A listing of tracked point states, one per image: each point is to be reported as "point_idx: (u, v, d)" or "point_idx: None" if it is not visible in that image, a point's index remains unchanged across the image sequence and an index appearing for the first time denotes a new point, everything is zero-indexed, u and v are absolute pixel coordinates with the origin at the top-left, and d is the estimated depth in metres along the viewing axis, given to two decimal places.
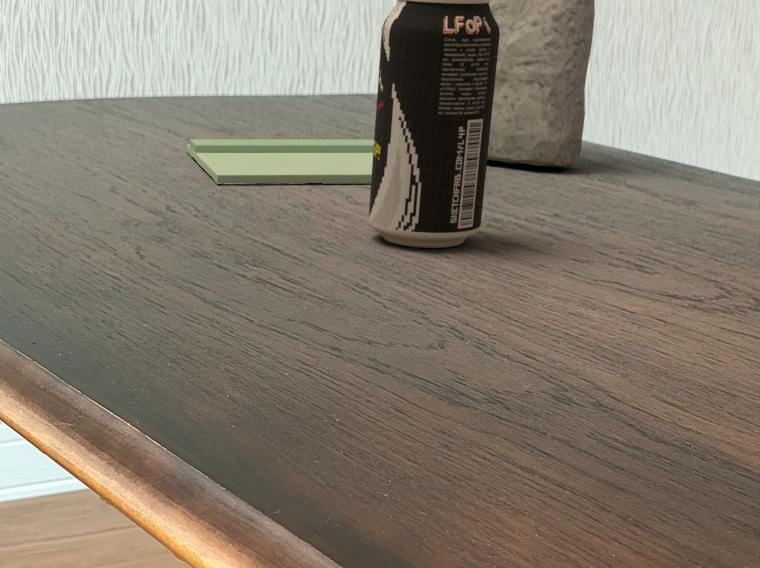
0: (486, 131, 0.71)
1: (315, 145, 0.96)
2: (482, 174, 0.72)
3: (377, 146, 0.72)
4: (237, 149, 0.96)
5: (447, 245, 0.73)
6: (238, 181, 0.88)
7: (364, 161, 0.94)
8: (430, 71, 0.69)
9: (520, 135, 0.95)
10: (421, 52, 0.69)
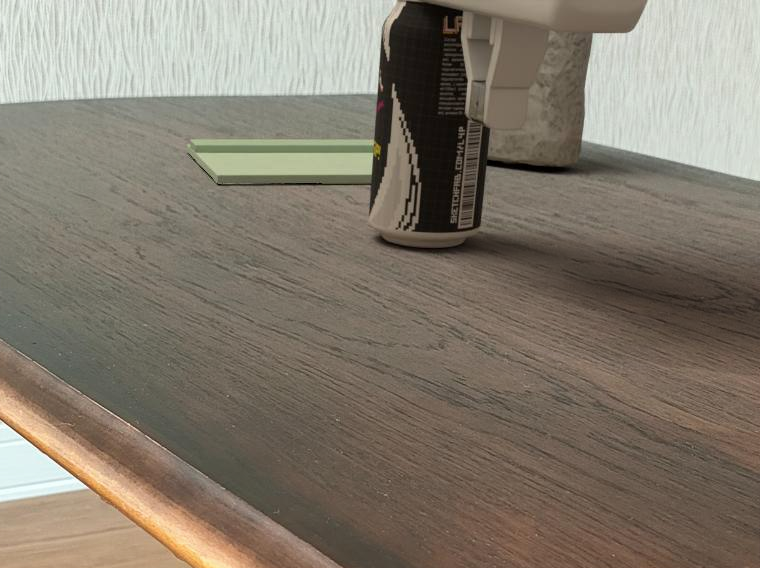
0: (486, 131, 0.71)
1: (315, 145, 0.96)
2: (482, 174, 0.72)
3: (377, 146, 0.72)
4: (237, 149, 0.96)
5: (447, 245, 0.73)
6: (238, 181, 0.88)
7: (364, 161, 0.94)
8: (430, 71, 0.69)
9: (520, 135, 0.95)
10: (421, 52, 0.69)
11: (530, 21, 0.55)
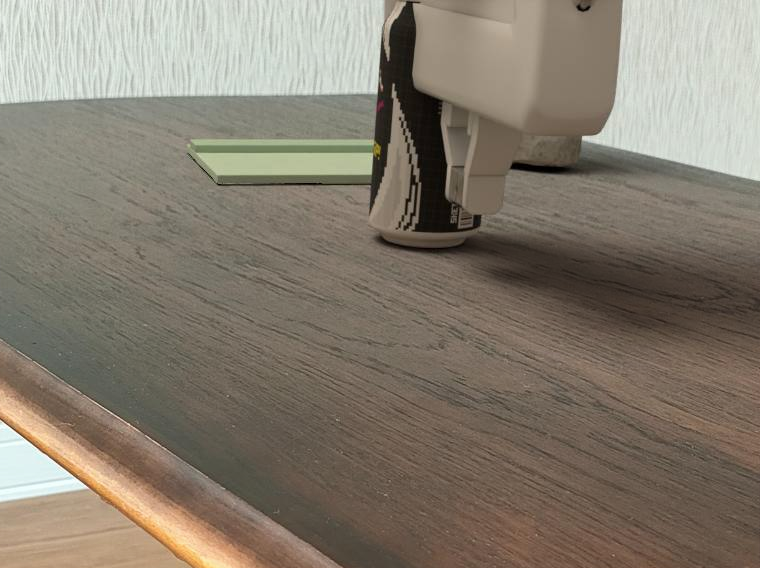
0: None
1: (315, 145, 0.96)
2: None
3: (377, 146, 0.72)
4: (237, 149, 0.96)
5: (447, 245, 0.73)
6: (238, 181, 0.88)
7: (364, 161, 0.94)
8: None
9: None
10: None
11: (504, 123, 0.59)
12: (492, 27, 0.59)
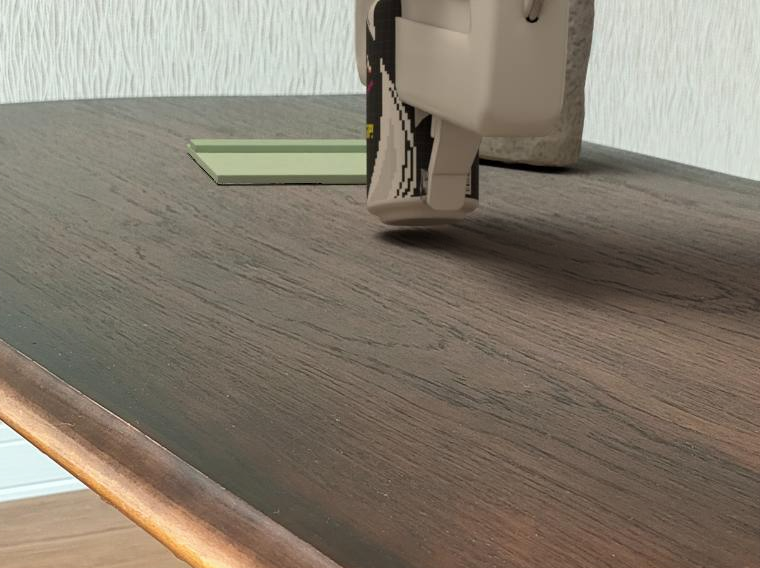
0: None
1: (315, 145, 0.96)
2: None
3: (370, 126, 0.73)
4: (237, 149, 0.96)
5: (447, 215, 0.73)
6: (238, 181, 0.88)
7: (364, 161, 0.94)
8: None
9: None
10: None
11: (462, 125, 0.63)
12: (451, 36, 0.64)
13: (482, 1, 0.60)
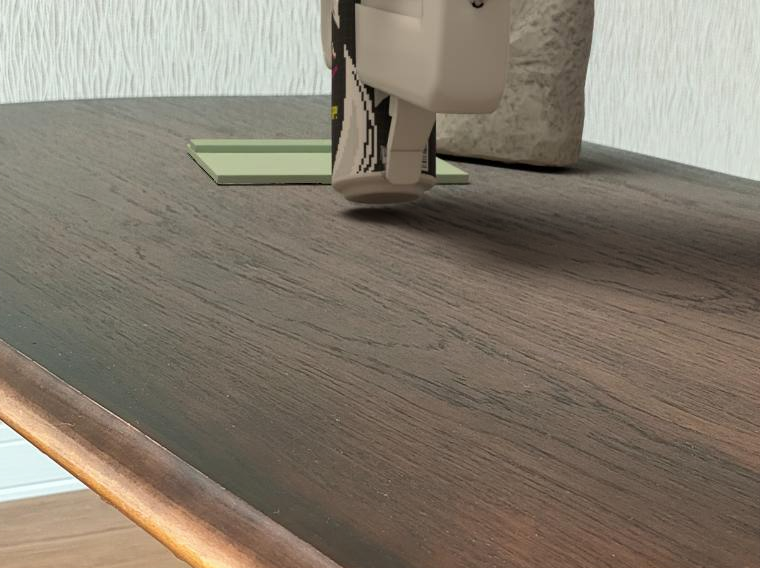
0: None
1: (315, 145, 0.96)
2: None
3: (334, 108, 0.79)
4: (237, 149, 0.96)
5: (406, 190, 0.78)
6: (238, 181, 0.88)
7: None
8: None
9: (520, 135, 0.95)
10: None
11: (415, 103, 0.69)
12: (405, 21, 0.69)
13: None
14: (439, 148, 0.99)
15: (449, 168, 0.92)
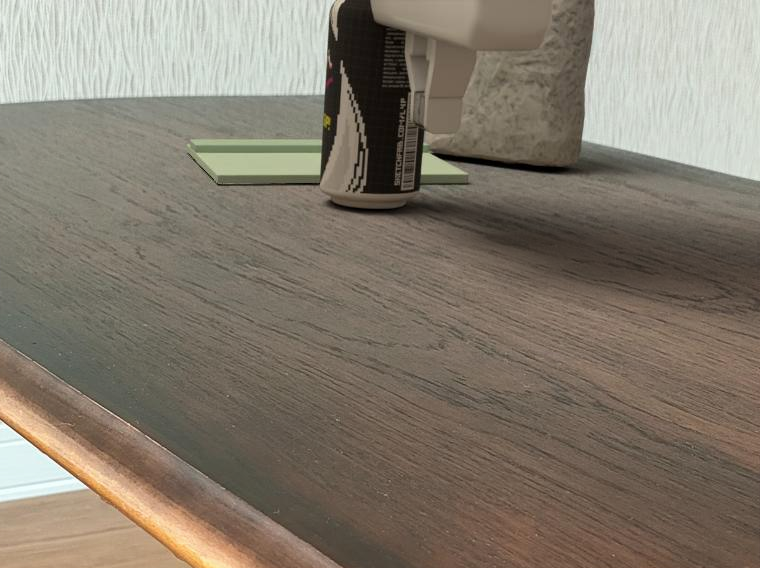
0: None
1: (315, 145, 0.96)
2: (421, 142, 0.81)
3: (327, 118, 0.81)
4: (237, 149, 0.96)
5: (391, 206, 0.82)
6: (238, 181, 0.88)
7: None
8: (374, 48, 0.78)
9: (520, 135, 0.95)
10: (366, 32, 0.77)
11: (454, 42, 0.65)
12: None
13: None
14: (439, 148, 0.99)
15: (449, 168, 0.92)
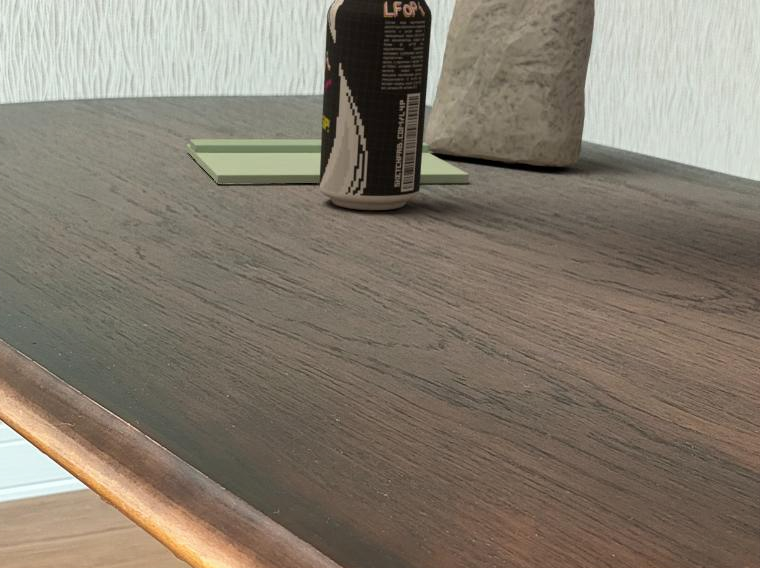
0: (423, 104, 0.80)
1: (315, 145, 0.96)
2: (420, 143, 0.81)
3: (326, 120, 0.81)
4: (237, 149, 0.96)
5: (391, 207, 0.82)
6: (238, 181, 0.88)
7: None
8: (373, 50, 0.77)
9: (520, 135, 0.95)
10: (364, 34, 0.77)
11: None
12: None
13: None
14: (439, 148, 0.99)
15: (449, 168, 0.92)
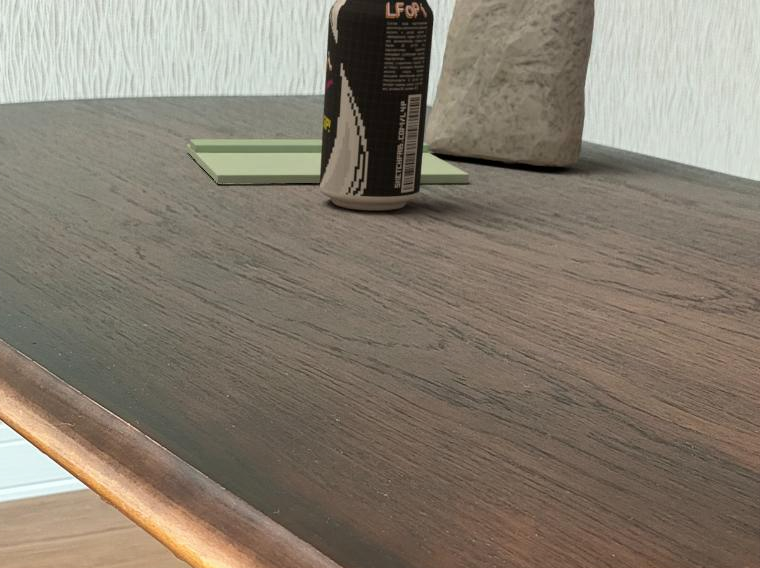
0: (424, 105, 0.80)
1: (315, 145, 0.96)
2: (421, 144, 0.81)
3: (327, 120, 0.81)
4: (237, 149, 0.96)
5: (391, 208, 0.82)
6: (238, 181, 0.88)
7: None
8: (375, 51, 0.77)
9: (520, 135, 0.95)
10: (366, 35, 0.77)
11: None
12: None
13: None
14: (439, 148, 0.99)
15: (449, 168, 0.92)
